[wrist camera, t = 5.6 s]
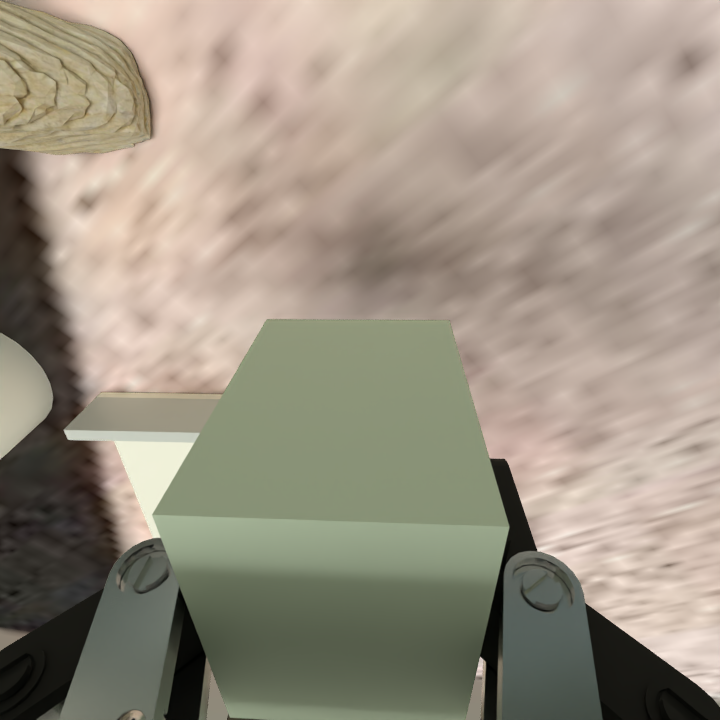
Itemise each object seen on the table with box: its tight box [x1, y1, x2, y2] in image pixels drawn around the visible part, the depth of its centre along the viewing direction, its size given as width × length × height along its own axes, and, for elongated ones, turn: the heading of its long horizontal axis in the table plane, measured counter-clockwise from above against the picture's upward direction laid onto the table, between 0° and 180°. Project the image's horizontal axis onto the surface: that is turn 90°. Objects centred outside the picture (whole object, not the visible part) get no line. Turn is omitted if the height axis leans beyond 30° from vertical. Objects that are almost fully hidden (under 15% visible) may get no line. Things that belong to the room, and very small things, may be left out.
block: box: [152, 319, 509, 720], centre depth 10 cm, size 5×7×6 cm, turn 1°
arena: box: [64, 392, 223, 538], centre depth 32 cm, size 22×16×4 cm
